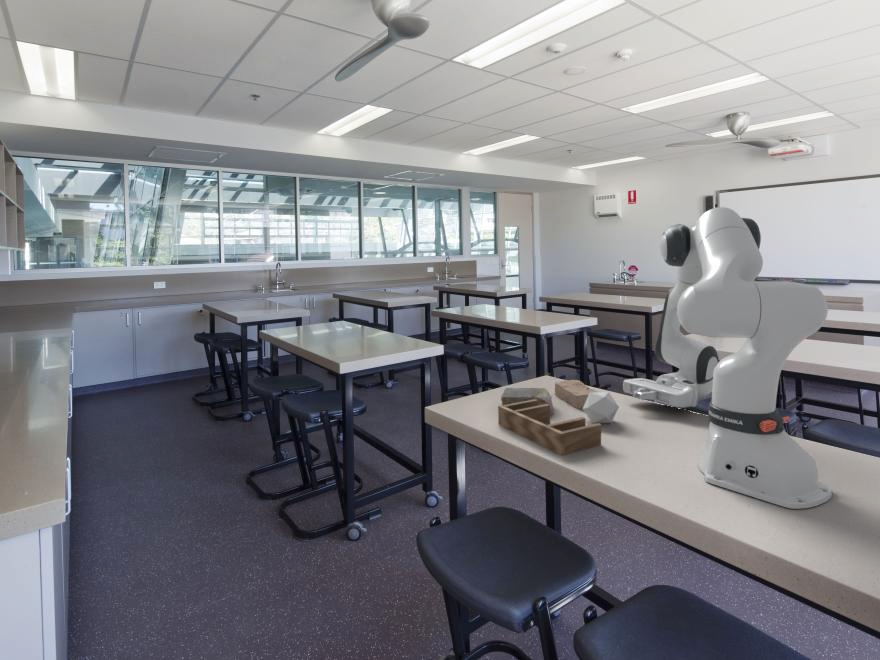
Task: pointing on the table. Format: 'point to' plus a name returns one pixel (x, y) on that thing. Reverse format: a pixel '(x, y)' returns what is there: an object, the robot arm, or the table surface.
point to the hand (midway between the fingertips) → (637, 395)
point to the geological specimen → (527, 396)
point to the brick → (573, 392)
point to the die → (600, 407)
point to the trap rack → (548, 427)
